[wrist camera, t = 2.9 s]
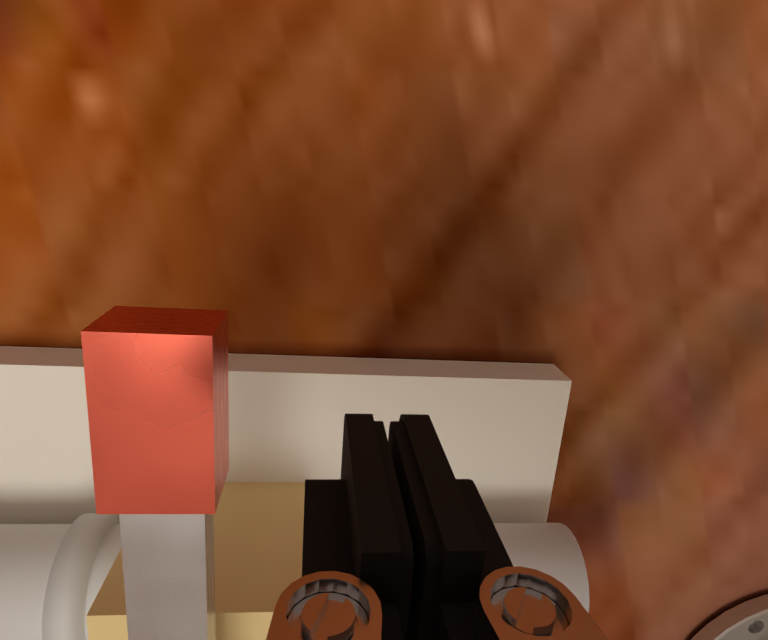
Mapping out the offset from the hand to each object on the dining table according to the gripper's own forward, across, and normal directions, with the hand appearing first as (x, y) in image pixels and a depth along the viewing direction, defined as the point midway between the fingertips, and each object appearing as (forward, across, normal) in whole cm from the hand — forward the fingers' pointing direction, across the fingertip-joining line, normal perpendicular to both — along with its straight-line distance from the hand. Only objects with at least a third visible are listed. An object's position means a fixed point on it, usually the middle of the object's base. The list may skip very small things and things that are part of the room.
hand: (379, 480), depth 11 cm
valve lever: (+3, +4, +5) cm, 7 cm away
